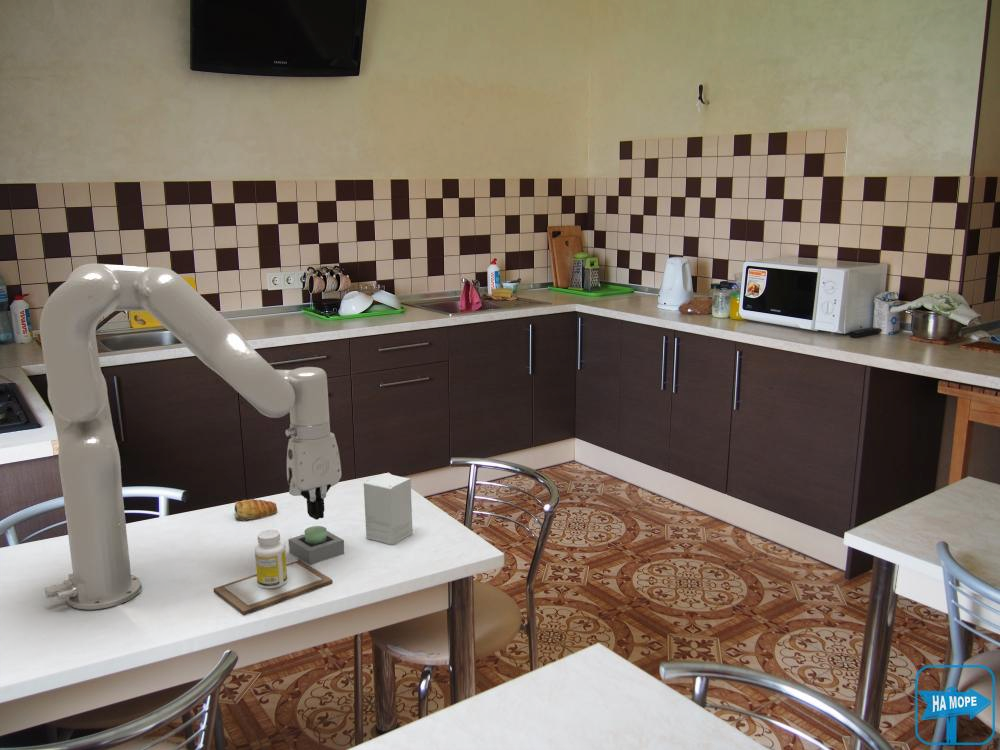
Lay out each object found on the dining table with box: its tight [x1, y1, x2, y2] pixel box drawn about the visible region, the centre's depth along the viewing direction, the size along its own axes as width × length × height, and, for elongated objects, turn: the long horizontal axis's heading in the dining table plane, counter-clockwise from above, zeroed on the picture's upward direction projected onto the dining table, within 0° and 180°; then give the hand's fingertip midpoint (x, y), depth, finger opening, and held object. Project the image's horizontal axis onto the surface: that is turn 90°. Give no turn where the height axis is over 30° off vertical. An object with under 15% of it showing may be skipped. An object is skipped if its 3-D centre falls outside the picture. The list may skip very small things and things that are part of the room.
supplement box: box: [363, 473, 413, 545], centre depth 182 cm, size 7×7×13 cm
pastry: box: [234, 498, 278, 522], centre depth 196 cm, size 9×7×4 cm
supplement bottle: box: [254, 529, 287, 589], centre depth 159 cm, size 5×5×10 cm
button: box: [303, 525, 328, 544], centre depth 174 cm, size 4×4×2 cm
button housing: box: [288, 530, 345, 566], centre depth 175 cm, size 8×8×3 cm
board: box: [213, 559, 334, 616], centre depth 160 cm, size 18×12×1 cm, turn 133°
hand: (316, 516), depth 174 cm, fingers closed
